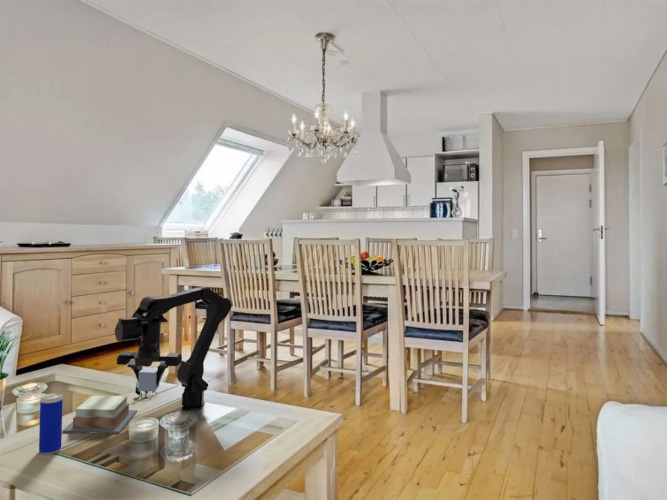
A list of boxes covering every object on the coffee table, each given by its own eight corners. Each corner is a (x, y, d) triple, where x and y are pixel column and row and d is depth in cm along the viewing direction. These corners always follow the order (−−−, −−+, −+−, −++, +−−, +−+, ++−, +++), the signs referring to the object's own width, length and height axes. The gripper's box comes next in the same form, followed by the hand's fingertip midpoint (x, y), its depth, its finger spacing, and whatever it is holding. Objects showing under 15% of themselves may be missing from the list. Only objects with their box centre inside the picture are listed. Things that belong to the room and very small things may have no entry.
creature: (155, 394, 174) (132, 391, 171) (159, 380, 174) (136, 377, 171) (156, 402, 167) (132, 399, 164) (160, 387, 167) (136, 384, 164)
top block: (159, 386, 152) (159, 367, 152) (154, 391, 147) (155, 372, 147) (143, 385, 152) (143, 367, 152) (138, 391, 147) (138, 372, 147)
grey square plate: (137, 412, 155) (137, 410, 155) (118, 433, 139) (119, 431, 139) (86, 411, 153) (86, 409, 153) (62, 432, 137) (62, 430, 137)
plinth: (128, 412, 152) (129, 395, 152) (114, 428, 140) (115, 410, 140) (90, 411, 151) (90, 395, 151) (72, 427, 139) (73, 409, 139)
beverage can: (58, 444, 130) (59, 391, 129) (63, 451, 127) (65, 396, 126) (36, 449, 127) (38, 395, 126) (41, 457, 123) (43, 400, 122)
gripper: (110, 342, 140) (108, 393, 141) (174, 344, 142) (172, 395, 142) (123, 333, 151) (122, 381, 152) (183, 335, 153) (181, 382, 153)
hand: (148, 385), depth 150 cm, fingers closed on top block, 5 cm apart
